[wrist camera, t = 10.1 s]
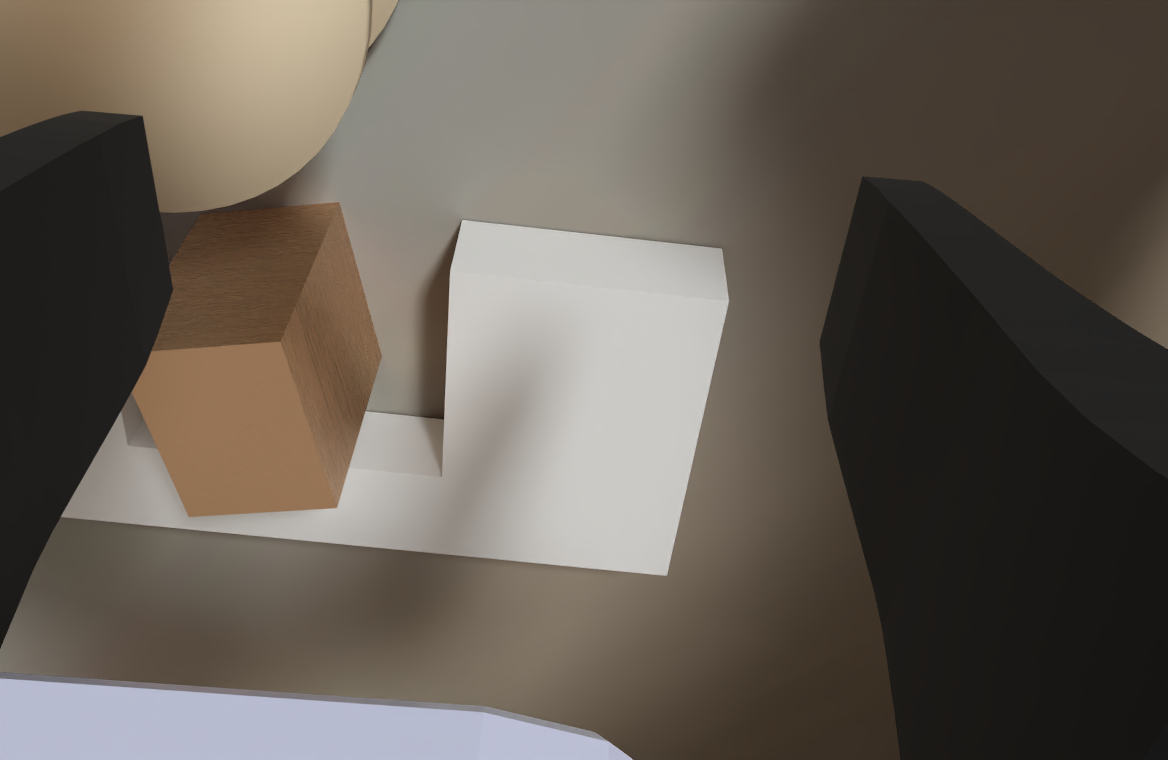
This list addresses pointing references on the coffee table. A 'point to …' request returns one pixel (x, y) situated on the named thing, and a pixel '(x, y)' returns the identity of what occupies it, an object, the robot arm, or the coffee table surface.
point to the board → (508, 415)
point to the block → (261, 362)
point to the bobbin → (194, 81)
